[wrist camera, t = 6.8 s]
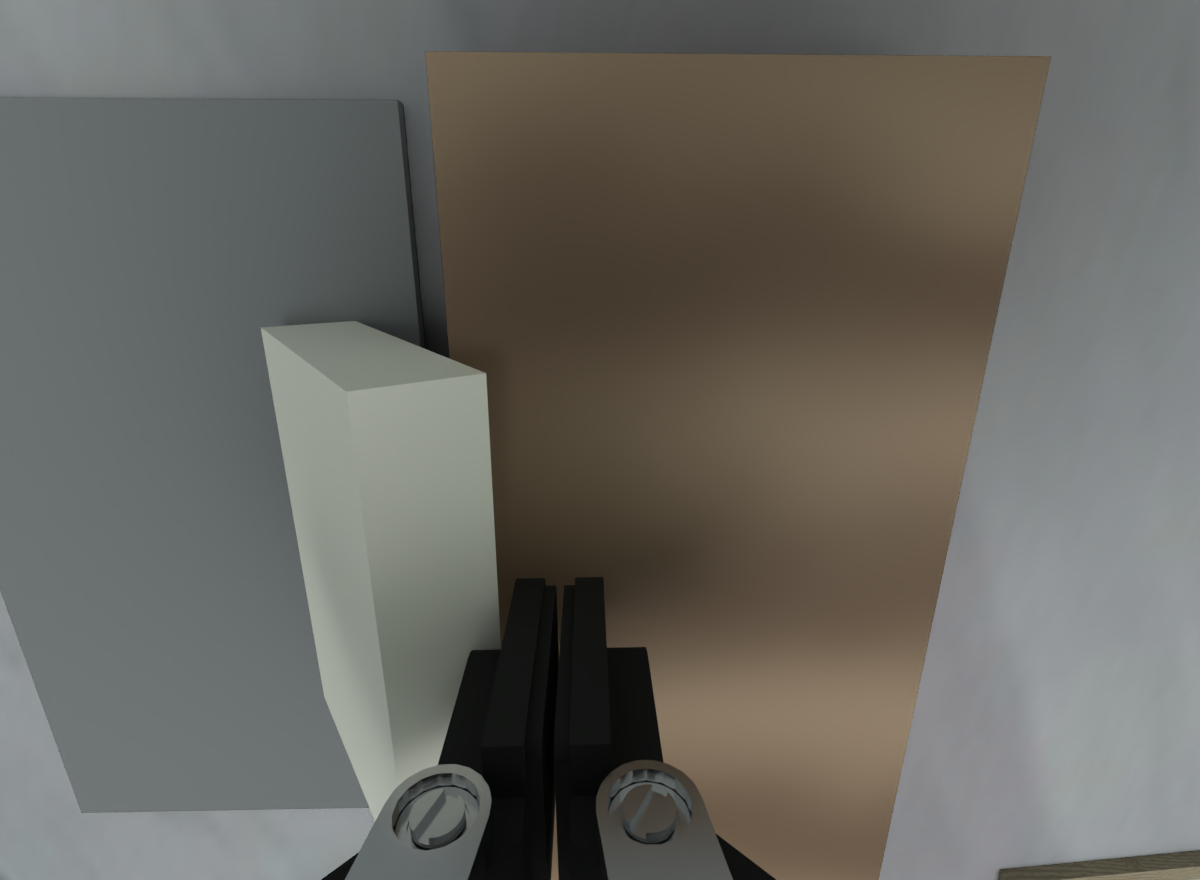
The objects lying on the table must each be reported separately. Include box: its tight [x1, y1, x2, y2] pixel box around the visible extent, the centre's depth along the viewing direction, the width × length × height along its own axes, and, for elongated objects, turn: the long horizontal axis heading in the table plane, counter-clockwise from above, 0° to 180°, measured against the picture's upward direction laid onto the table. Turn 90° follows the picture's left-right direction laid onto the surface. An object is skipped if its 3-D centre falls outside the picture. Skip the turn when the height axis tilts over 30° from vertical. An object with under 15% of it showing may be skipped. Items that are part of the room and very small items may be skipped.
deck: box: [425, 51, 1051, 880], centre depth 15 cm, size 20×10×4 cm, turn 0°
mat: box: [0, 98, 425, 813], centre depth 16 cm, size 20×12×1 cm, turn 0°
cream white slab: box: [261, 321, 501, 821], centre depth 13 cm, size 10×7×2 cm
